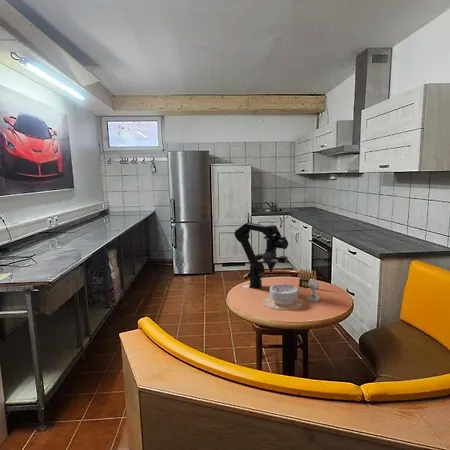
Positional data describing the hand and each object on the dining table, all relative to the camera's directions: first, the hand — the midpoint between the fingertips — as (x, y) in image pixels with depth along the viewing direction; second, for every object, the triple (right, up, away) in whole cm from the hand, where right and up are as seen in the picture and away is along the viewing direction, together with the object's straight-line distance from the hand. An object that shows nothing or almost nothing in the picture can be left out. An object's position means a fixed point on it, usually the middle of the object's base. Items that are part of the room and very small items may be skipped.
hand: (271, 272), depth 199 cm
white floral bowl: (+5, -14, -16) cm, 22 cm away
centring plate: (+4, -14, -16) cm, 22 cm away
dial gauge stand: (+22, -14, -12) cm, 29 cm away
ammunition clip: (+24, -11, +7) cm, 27 cm away
